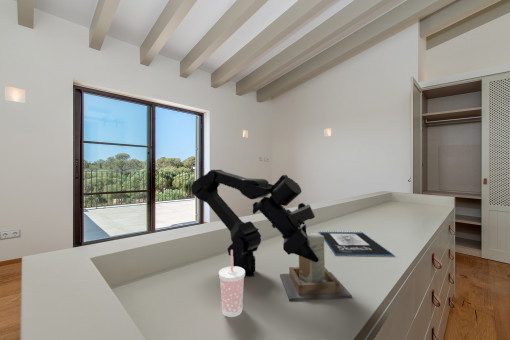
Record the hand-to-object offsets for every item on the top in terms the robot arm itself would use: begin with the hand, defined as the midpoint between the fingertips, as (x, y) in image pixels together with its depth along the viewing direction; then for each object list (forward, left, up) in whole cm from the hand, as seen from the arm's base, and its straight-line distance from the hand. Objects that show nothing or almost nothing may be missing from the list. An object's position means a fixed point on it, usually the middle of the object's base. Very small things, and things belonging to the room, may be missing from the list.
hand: (316, 255), depth 62 cm
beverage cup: (-23, -9, -9) cm, 26 cm away
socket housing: (-1, 0, -8) cm, 9 cm away
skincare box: (-1, 0, -7) cm, 7 cm away
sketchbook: (+27, +34, -9) cm, 45 cm away
